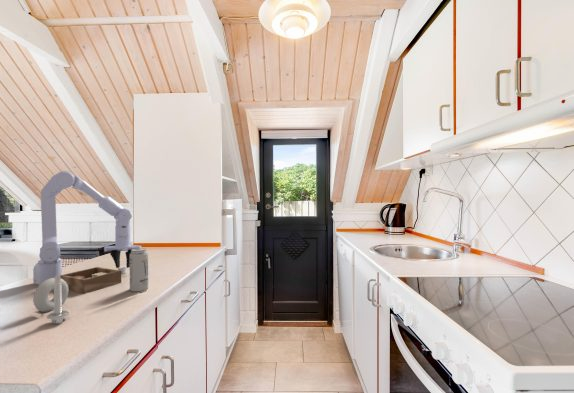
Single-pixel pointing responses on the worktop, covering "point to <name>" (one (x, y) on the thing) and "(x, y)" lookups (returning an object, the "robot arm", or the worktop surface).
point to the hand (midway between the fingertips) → (123, 267)
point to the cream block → (98, 274)
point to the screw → (57, 303)
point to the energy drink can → (138, 270)
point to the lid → (123, 269)
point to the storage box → (91, 279)
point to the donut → (43, 292)
